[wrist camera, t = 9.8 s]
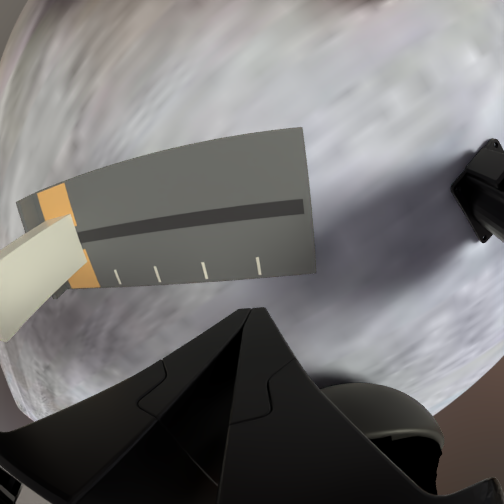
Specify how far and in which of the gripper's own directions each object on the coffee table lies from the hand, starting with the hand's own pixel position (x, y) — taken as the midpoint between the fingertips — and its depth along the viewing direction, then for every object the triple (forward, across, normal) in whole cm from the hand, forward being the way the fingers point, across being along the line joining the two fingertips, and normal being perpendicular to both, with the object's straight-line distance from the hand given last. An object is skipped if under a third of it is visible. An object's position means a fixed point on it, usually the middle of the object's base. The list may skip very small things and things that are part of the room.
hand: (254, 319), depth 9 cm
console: (+12, -9, 0) cm, 15 cm away
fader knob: (+11, -18, 0) cm, 21 cm away
